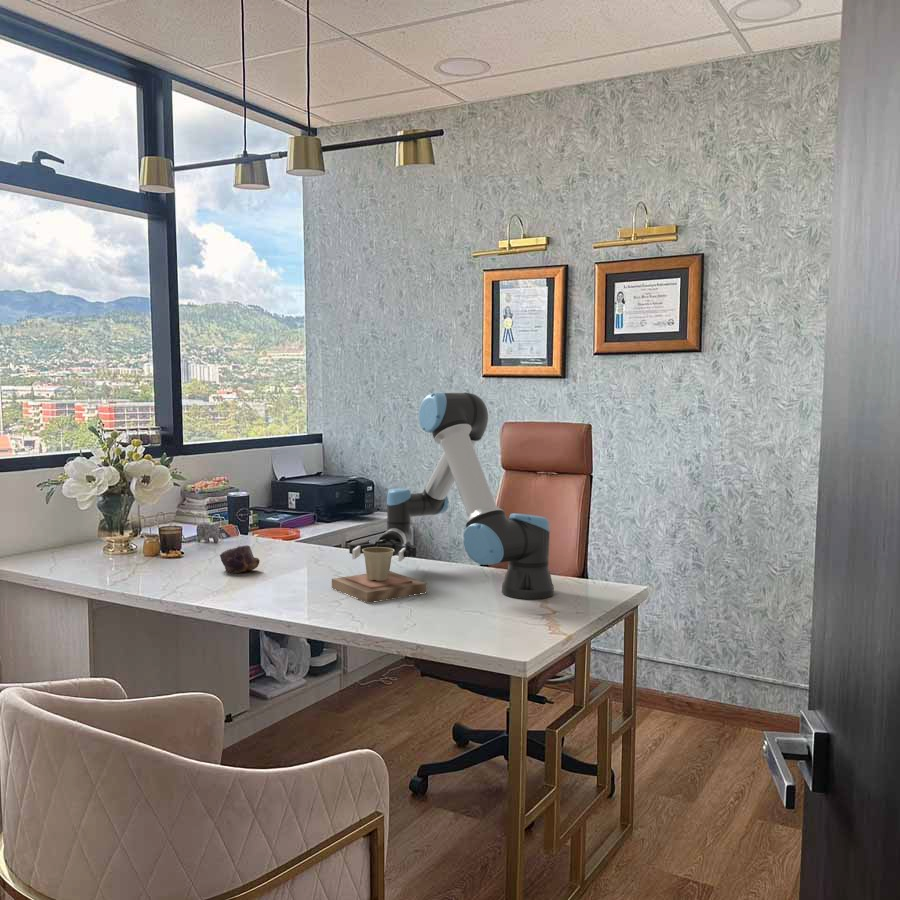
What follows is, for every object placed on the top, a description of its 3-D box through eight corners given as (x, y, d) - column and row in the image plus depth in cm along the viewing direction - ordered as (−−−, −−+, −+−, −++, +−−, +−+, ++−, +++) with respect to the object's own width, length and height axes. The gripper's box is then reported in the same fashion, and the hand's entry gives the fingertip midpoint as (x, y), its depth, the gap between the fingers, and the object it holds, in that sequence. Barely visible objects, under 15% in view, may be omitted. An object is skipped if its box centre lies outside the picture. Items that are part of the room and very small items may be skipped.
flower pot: (375, 574, 251) (376, 545, 251) (400, 578, 246) (400, 549, 245) (354, 579, 244) (355, 550, 243) (380, 584, 238) (380, 554, 238)
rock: (234, 571, 274) (214, 576, 265) (231, 545, 274) (210, 549, 265) (263, 569, 269) (244, 574, 260) (260, 542, 269) (241, 547, 260)
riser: (388, 580, 259) (389, 569, 258) (426, 593, 243) (426, 581, 243) (331, 588, 247) (331, 576, 247) (366, 603, 231) (367, 590, 231)
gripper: (431, 556, 261) (419, 570, 240) (353, 552, 264) (334, 566, 243) (431, 532, 260) (419, 544, 239) (353, 529, 264) (334, 541, 243)
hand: (376, 555), depth 241 cm, fingers open, 13 cm apart
